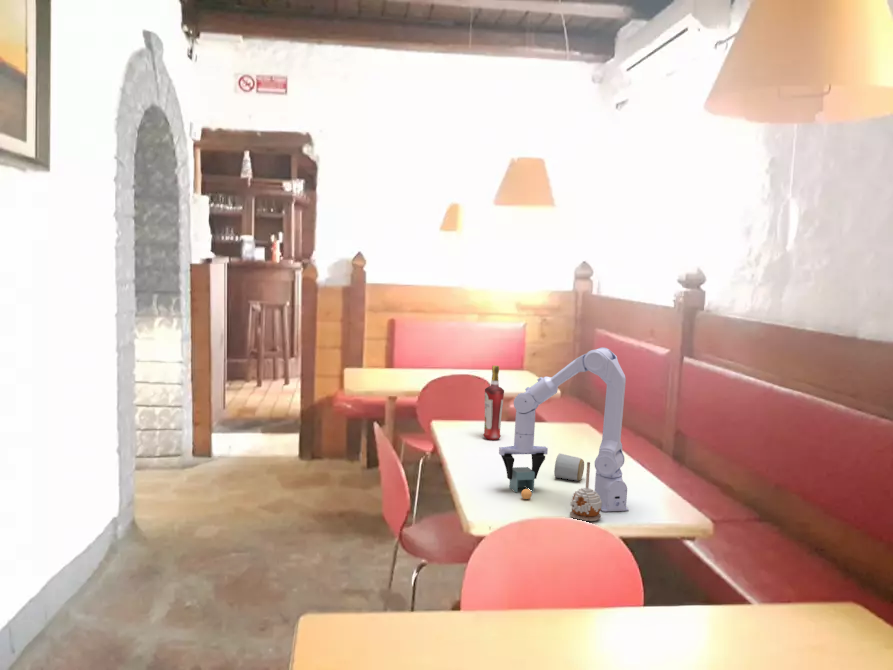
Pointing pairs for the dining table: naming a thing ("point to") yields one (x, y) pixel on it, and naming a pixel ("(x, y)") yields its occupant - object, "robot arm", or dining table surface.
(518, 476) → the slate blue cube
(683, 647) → the dining table surface
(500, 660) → the dining table surface
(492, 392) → the liquor
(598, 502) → the caramel apple
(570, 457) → the ceramic mug
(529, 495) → the orange ball
